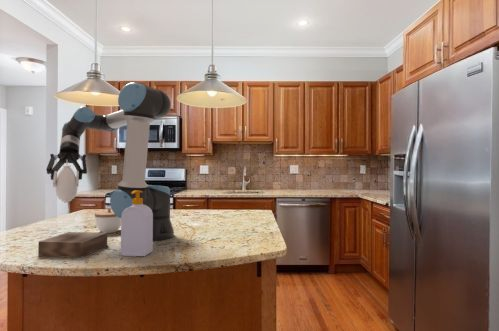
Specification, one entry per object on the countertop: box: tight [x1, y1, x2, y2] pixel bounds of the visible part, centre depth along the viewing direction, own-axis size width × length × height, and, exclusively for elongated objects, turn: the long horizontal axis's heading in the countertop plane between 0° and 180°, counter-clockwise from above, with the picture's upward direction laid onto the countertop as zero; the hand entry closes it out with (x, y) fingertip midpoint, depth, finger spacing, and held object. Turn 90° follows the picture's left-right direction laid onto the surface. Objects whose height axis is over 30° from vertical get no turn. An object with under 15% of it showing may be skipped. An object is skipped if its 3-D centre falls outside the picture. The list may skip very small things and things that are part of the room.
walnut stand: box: [37, 231, 108, 258], centre depth 112 cm, size 16×16×5 cm
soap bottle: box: [120, 190, 154, 257], centre depth 108 cm, size 9×7×23 cm
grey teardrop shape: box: [55, 161, 79, 203], centre depth 125 cm, size 8×8×18 cm
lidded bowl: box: [94, 208, 121, 234], centre depth 145 cm, size 13×13×11 cm
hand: (65, 184), depth 122 cm, fingers closed on grey teardrop shape, 7 cm apart
